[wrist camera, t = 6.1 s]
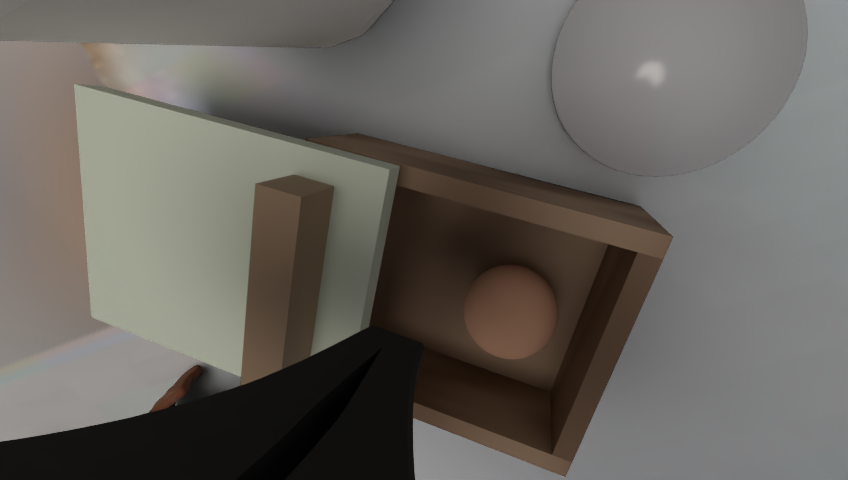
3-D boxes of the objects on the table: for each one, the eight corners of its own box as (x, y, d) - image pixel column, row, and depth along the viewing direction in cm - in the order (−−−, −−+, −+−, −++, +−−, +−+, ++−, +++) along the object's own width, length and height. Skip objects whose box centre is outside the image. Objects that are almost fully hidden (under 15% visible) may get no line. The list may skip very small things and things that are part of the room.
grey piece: (827, -32, 11) (861, -49, 9) (721, 193, 13) (738, 200, 11) (589, -66, 12) (594, -85, 11) (527, 145, 14) (525, 148, 13)
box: (640, 206, 13) (673, 237, 10) (560, 401, 16) (565, 477, 13) (357, 133, 15) (305, 138, 12) (328, 319, 18) (279, 366, 15)
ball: (569, 267, 14) (575, 305, 11) (542, 341, 15) (541, 392, 12) (483, 242, 14) (469, 272, 12) (462, 315, 16) (445, 359, 13)
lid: (399, 165, 11) (363, 178, 9) (354, 401, 14) (317, 457, 11) (101, 85, 13) (9, 79, 11) (113, 307, 16) (41, 339, 13)
